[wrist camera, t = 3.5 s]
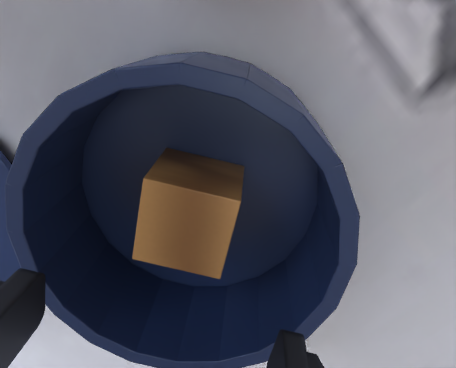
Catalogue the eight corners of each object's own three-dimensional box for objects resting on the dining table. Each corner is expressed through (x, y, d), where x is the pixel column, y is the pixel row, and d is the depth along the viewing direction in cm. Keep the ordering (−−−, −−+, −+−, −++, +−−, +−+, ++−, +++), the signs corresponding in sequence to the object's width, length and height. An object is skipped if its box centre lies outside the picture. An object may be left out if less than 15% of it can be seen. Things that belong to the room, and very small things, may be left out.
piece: (155, 215, 22) (131, 259, 18) (166, 147, 21) (142, 178, 16) (227, 232, 23) (220, 279, 18) (244, 165, 21) (241, 201, 16)
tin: (68, 261, 25) (9, 335, 19) (80, 20, 19) (-2, 17, 13) (286, 312, 25) (295, 399, 19) (371, 91, 19) (423, 121, 13)
